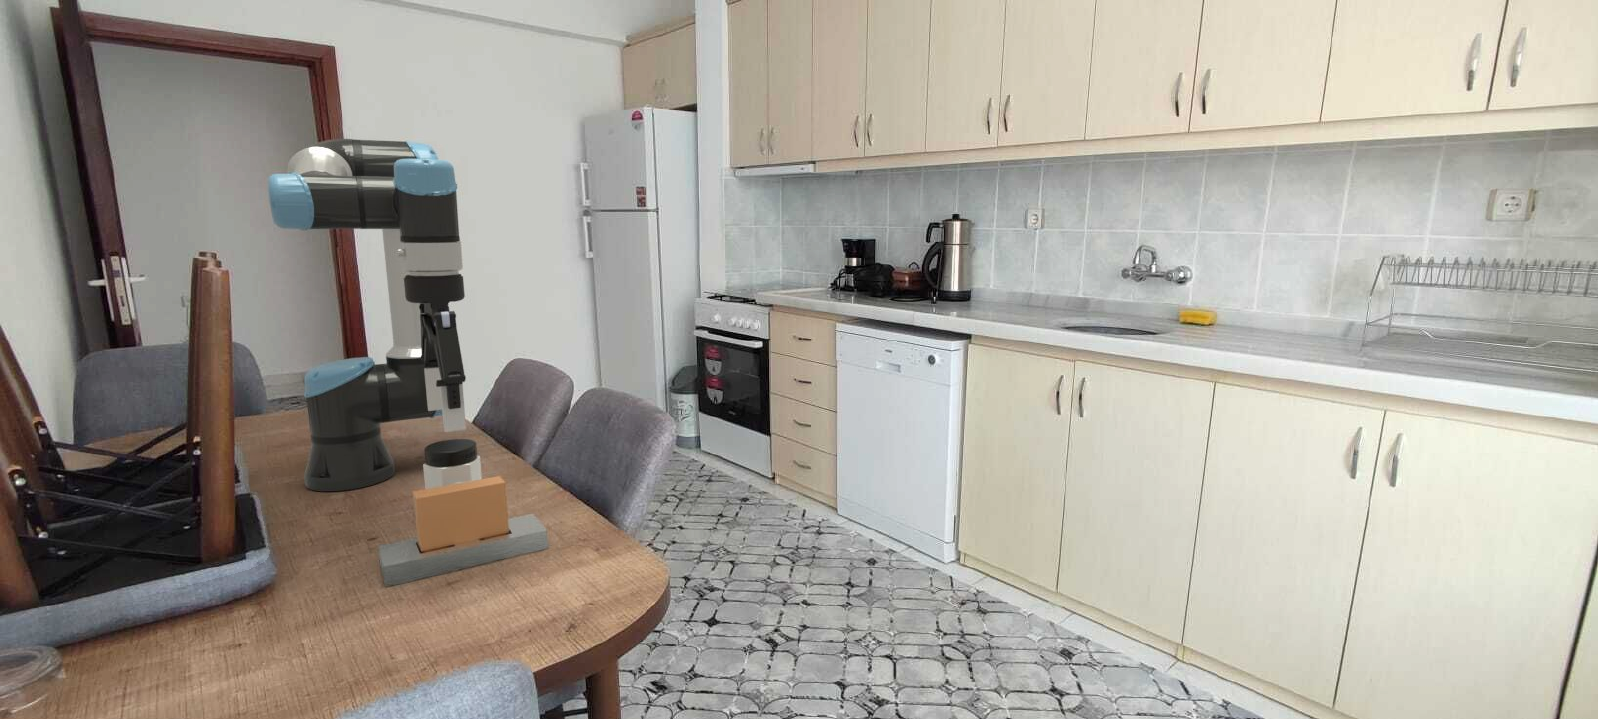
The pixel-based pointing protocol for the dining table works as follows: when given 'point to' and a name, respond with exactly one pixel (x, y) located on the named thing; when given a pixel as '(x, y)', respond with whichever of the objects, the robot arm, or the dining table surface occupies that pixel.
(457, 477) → the jar
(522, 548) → the grey slotted block
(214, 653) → the dining table surface
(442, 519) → the tan notched block
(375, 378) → the robot arm
